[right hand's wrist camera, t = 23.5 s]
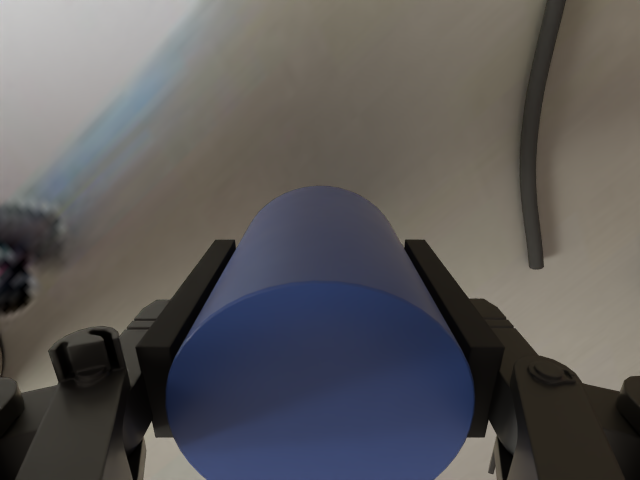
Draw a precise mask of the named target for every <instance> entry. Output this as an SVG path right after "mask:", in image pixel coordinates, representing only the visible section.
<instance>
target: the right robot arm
mask: <svg viewBox="0 0 640 480" xmlns="http://www.w3.org/2000/svg"><path fill="white" fill-rule="evenodd" d="M565 2H566V0H548V1H547V5H546V9H545V14H544V18H543V22H542V26H541V31H540V35H539V39H538V43H537V48H536V52H535V56H534V61H533V66H532V70H531V75H530V80H529V85H528V90H527V96H526V102H525V109H524V117H523V125H522V135H521V149H520V187H521V200H522V210H523V217H524V225H525V232H526V240H527V248H528V258H529V267H530V268H531V269H542V268H543V267H544V262H543V250H542V241H541V232H540V224H539V215H538V206H537V194H536V152H537V139H538V129H539V121H540V114H541V107H542V101H543V96H544V90H545V85H546V81H547V76H548V71H549V67H550V63H551V58H552V54H553V50H554V46H555V42H556V38H557V34H558V30H559V26H560V22H561V18H562V14H563V10H564V6H565ZM404 249H405V251H406V253H407V254H408V256H409V258H410V260H411V261H412V263H413V265H414V267H415V269H416V270H417V272H418V274H419V276H420V277H421V279H422V281H423V283H424V284H425V286H426V288H427V290H428V291H429V293H430V295H431V297H432V298H433V300H434V302H435V304H436V306H437V307H438V309H439V311H440V313H441V314H442V316H443V318H444V320H445V321H446V323H447V325H448V327H449V328H450V330H451V332H452V334H453V335H454V337H455V339H456V341H457V343H458V344H459V346H460V348H461V350H462V352H463V354H464V356H465V358H466V360H467V362H468V364H469V367H470V370H471V374H472V377H473V381H474V391H475V406H474V416H473V420H472V424H471V428H470V431H469V433H468V435H467V437H485V433H486V429H487V425H488V420H489V421H490V423H491V425H492V427H493V428H494V430H495V432H496V434H497V437H496V441H495V445H494V449H493V453H492V457H491V461H490V465H489V472H488V473H490V474H494V470H495V466H496V475H497V480H640V376H631V377H629V378H627V379H626V380H624V383H623V385H622V388H621V390H620V392H619V391H615V390H610V389H605V388H601V387H596V386H591V385H587V384H584V383H582V382H581V380H580V379H579V377H578V376H577V375H576V373H574V372H573V371H572V370H571V369H569V368H568V367H567V366H565V365H563V364H561V363H559V362H557V361H555V360H553V359H550V358H546V357H543V356H539V355H538V354H537V353H536V352H535V351H534V349H533V348H532V347H531V346H530V345H529V344H528V342H527V341H526V340H525V339H524V338H523V337H522V335H521V334H520V333H519V332H518V331H517V330H516V328H514V326H513V325H512V324H511V323H510V321H509V320H506V317H505V316H504V314H503V313H502V312H501V311H500V310H499V309H498V307H496V306H494V305H493V304H491V303H490V302H488V301H486V300H485V299H469V298H468V297H467V296H466V294H465V293H464V292H463V290H462V289H461V288H460V286H459V285H458V284H457V282H456V281H455V280H454V278H453V277H452V276H451V274H450V273H449V272H448V270H447V269H446V268H445V266H444V265H443V264H442V262H441V261H440V260H439V258H438V257H437V256H436V254H435V253H434V252H433V250H432V249H431V248H430V246H429V245H428V244H427V242H426V241H425V240H405V248H404ZM235 250H236V245H235V240H215V241H214V243H213V244H212V245H211V247H210V248H209V249H208V251H207V252H206V253H205V255H204V256H203V257H202V259H201V260H200V261H199V263H198V264H197V265H196V267H195V268H194V269H193V271H192V272H191V273H190V275H189V276H188V277H187V279H186V280H185V281H184V283H183V284H182V285H181V287H180V288H179V289H178V291H177V292H176V293H175V295H174V296H173V297H172V299H171V300H156V301H154V302H153V303H151V304H150V305H148V306H146V307H145V308H143V309H142V310H141V312H140V313H139V314H138V315H137V316H136V317H135V319H134V321H132V322H131V323H130V324H129V326H128V327H127V330H124V332H123V333H122V334H121V335H120V336H119V334H118V332H117V331H116V330H115V329H113V328H111V327H105V326H100V327H90V328H86V329H82V330H78V331H76V332H74V333H71V334H69V335H67V336H65V337H63V338H62V339H60V340H59V341H57V342H56V343H55V344H54V345H53V346H52V347H51V348H50V349H49V350H48V352H49V355H50V358H51V361H52V364H53V367H54V370H55V373H56V376H57V379H58V384H57V385H55V386H51V387H47V388H42V389H37V390H33V391H28V392H24V393H21V392H20V389H19V387H18V384H17V382H16V381H14V380H13V379H11V378H3V377H0V480H143V477H144V467H145V458H146V446H145V441H144V437H143V436H144V435H145V433H146V431H147V429H148V427H149V425H150V423H151V421H152V423H153V428H154V432H155V437H173V435H172V432H171V429H170V426H169V423H168V419H167V413H166V407H165V399H166V384H167V379H168V374H169V371H170V368H171V366H172V363H173V360H174V358H175V356H176V354H177V352H178V351H179V349H180V347H181V345H182V343H183V342H184V340H185V338H186V336H187V335H188V333H189V331H190V329H191V328H192V326H193V324H194V322H195V321H196V319H197V317H198V315H199V313H200V312H201V310H202V308H203V306H204V305H205V303H206V301H207V299H208V298H209V296H210V294H211V292H212V291H213V289H214V287H215V285H216V283H217V282H218V280H219V278H220V276H221V275H222V273H223V271H224V269H225V268H226V266H227V264H228V262H229V261H230V259H231V257H232V255H233V253H234V252H235Z"/></svg>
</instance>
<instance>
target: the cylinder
mask: <svg viewBox="0 0 640 480" xmlns="http://www.w3.org/2000/svg"><path fill="white" fill-rule="evenodd" d="M474 406H475V391H474V381H473V377H472V374H471V370H470V367H469V364H468V362H467V360H466V358H465V356H464V354H463V352H462V350H461V348H460V346H459V344H458V343H457V341H456V339H455V337H454V335H453V334H452V332H451V330H450V328H449V327H448V325H447V323H446V321H445V320H444V318H443V316H442V314H441V313H440V311H439V309H438V307H437V306H436V304H435V302H434V300H433V298H432V297H431V295H430V293H429V291H428V290H427V288H426V286H425V284H424V283H423V281H422V279H421V277H420V276H419V274H418V272H417V270H416V269H415V267H414V265H413V263H412V261H411V260H410V258H409V256H408V254H407V253H406V251H405V249H404V247H403V246H402V244H401V242H400V240H399V239H398V237H397V235H396V233H395V232H394V230H393V228H392V226H391V224H390V223H389V222H388V220H387V219H386V217H385V216H384V215H383V213H382V212H381V211H380V210H379V209H378V208H377V207H376V206H374V205H373V204H372V203H371V202H370V201H368V200H367V199H365V198H363V197H362V196H360V195H358V194H356V193H353V192H351V191H348V190H345V189H342V188H337V187H331V186H310V187H303V188H299V189H295V190H292V191H289V192H287V193H284V194H282V195H281V196H279V197H277V198H275V199H274V200H272V201H271V202H270V203H268V204H267V205H266V206H265V207H264V208H263V209H261V210H260V211H259V212H258V214H257V215H256V216H255V218H254V219H253V220H252V222H251V224H250V225H249V227H248V229H247V231H246V232H245V234H244V236H243V238H242V239H241V241H240V243H239V245H238V246H237V248H236V250H235V252H234V253H233V255H232V257H231V259H230V261H229V262H228V264H227V266H226V268H225V269H224V271H223V273H222V275H221V276H220V278H219V280H218V282H217V283H216V285H215V287H214V289H213V291H212V292H211V294H210V296H209V298H208V299H207V301H206V303H205V305H204V306H203V308H202V310H201V312H200V313H199V315H198V317H197V319H196V321H195V322H194V324H193V326H192V328H191V329H190V331H189V333H188V335H187V336H186V338H185V340H184V342H183V343H182V345H181V347H180V349H179V351H178V352H177V354H176V356H175V358H174V360H173V363H172V366H171V368H170V371H169V374H168V379H167V384H166V399H165V407H166V413H167V419H168V423H169V426H170V429H171V432H172V435H173V437H174V439H175V441H176V443H177V445H178V447H179V449H180V451H181V452H182V453H183V455H184V456H185V458H186V459H187V460H188V462H189V463H190V464H191V465H192V466H193V467H194V468H195V469H196V470H197V471H198V472H199V474H201V475H202V476H203V477H204V478H205V479H207V480H434V479H435V478H436V477H437V476H438V475H440V474H441V473H442V472H443V471H444V470H445V469H446V468H447V467H448V465H449V464H450V463H451V462H452V461H453V459H454V458H455V457H456V456H457V454H458V452H459V451H460V449H461V447H462V446H463V444H464V442H465V440H466V438H467V435H468V433H469V431H470V428H471V424H472V420H473V416H474Z"/></svg>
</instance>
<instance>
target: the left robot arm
mask: <svg viewBox="0 0 640 480" xmlns="http://www.w3.org/2000/svg"><path fill="white" fill-rule="evenodd" d="M1 371H2V352H1V347H0V376H1Z"/></svg>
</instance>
